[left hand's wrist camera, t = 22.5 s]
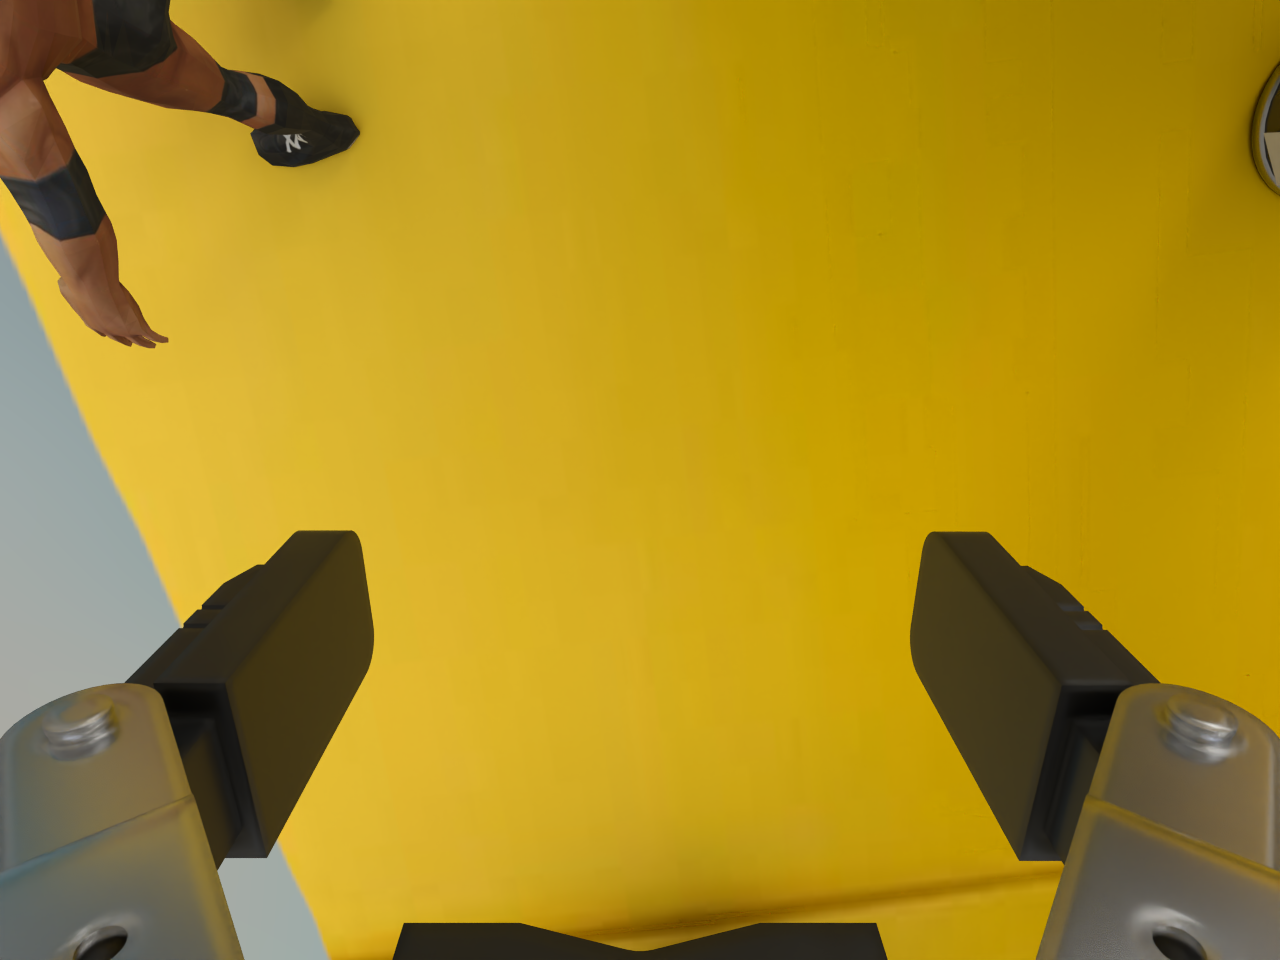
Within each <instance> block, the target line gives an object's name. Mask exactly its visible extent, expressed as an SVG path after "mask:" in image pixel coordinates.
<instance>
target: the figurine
mask: <svg viewBox="0 0 1280 960" xmlns="http://www.w3.org/2000/svg"><path fill="white" fill-rule="evenodd" d="M169 5H170V0H0V178H1V179H2V181H3V182H4V184H5V185H6V186H7V188H8V189H9V191H10V192H11V194H12V195H13V197H14V199H15V200H16V202H17V203H18V205H19V207H20V208H21V210H22V211H23V213H24V215H25V216H26V218H27V220H28V222H29V224H30V225H31V227H32V230H33V232H34V235H35V237H36V240H37V242H38V243H39V245H40V247H41V248H42V250H43V251H44V253H45V255H46V256H47V258H48V259H49V261H50V262H51V263H52V265H53V266H54V268H55V269H56V270H57V272H58V273H59V275H60V276H61V278H60V279H59V280H58V284H59V288H60V292H61V294H62V295H63V296H64V298H65V299H66V300H67V302H68V303H69V304H70V306H71V307H72V308H73V309H74V311H75V312H76V313H77V314H78V315H79V316H80V317H81V319H82V320H83V321H84V323H85V324H86V326H88V327H89V328H91V329H92V330H94V331H95V332H97V333H98V334H100V335H101V336H104V337H105V336H106V335H107V336H108V337H109V338H111V339H113V340H115V341H118V342H120V343H122V344H124V345H127V346H130V347H131V345H132V343H135V344H137V345H139V346H143V347H147V348H155V346H156V344H155V343H153V342H151V341H150V340H152V341H155V342H160V343H166V342H168V338H167V337H164V336H161V335H159V334H157V333H156V332H154V331H152V330H151V329H150V327H149V326H148V324H147V322H146V321H145V319H144V317H143V315H142V313H141V310H140V308H139V306H138V304H137V303H136V301H135V300H134V298H133V297H132V295H131V294H130V293H129V291H128V290H127V289H126V288H125V287H124V286H123V285H122V284H121V283H120V282H119V271H118V251H117V240H116V236H115V233H114V230H113V227H112V223H111V221H110V219H109V218H108V216H107V214H106V212H105V210H104V208H103V206H102V205H101V203H100V201H99V199H98V197H97V195H96V192H95V190H94V187H93V184H92V182H91V179H90V176H89V174H88V171H87V169H86V167H85V165H84V164H83V162H82V160H81V158H80V156H79V155H78V153H77V151H76V149H75V147H74V145H73V143H72V140H71V138H70V136H69V134H68V131H67V129H66V127H65V125H64V123H63V121H62V119H61V117H60V115H59V113H58V111H57V109H56V107H55V105H54V103H53V101H52V99H51V97H50V95H49V93H48V91H47V89H46V86H45V84H44V82H43V80H45V79H47V78H48V77H49V76H50V74H51V73H52V72H53V71H54V70H55V68H57V69H59V70H61V71H63V72H65V73H66V74H68V75H70V76H71V77H73V78H75V79H77V80H79V81H81V82H83V83H86V84H89V85H92V86H94V87H97V88H100V89H103V90H106V91H109V92H112V93H115V94H119V95H123V96H126V97H130V98H133V99H137V100H140V101H144V102H147V103H151V104H154V105H158V106H161V107H165V108H171V109H182V110H193V111H200V112H207V113H213V114H217V115H221V116H226V117H229V118H232V119H234V120H236V121H238V122H241V123H243V124H245V125H248V126H250V127H252V128H254V130H253V132H252V133H250V134H251V137H252V139H253V142H254V144H255V147H256V149H257V152H258V154H259V155H260V156H261V157H262V158H264V159H265V160H266V161H267V162H269V163H270V164H271V165H274V166H287V167H297V166H302V165H306V164H311V163H314V162H317V161H319V160H322V159H324V158H327V157H329V156H332V155H334V154H337V153H339V152H342V151H345V150H347V149H349V148H350V147H351V145H352V144H353V143H354V141H355V140H356V139H357V137H358V136H359V135H360V131H359V130H358V129H357V127H356V126H355V125H354V123H353V121H352V119H351V118H350V117H349V116H347V115H342V114H337V113H332V112H327V111H319V110H316V109H313V108H311V107H309V106H307V105H306V103H305V102H304V101H303V100H302V99H301V98H300V96H299V95H298V94H297V93H295V92H294V91H292V90H291V89H290V88H288V87H287V86H285V85H284V84H282V83H281V82H279V81H277V80H275V79H272V78H269V77H267V76H264V75H261V74H257V73H250V72H243V71H235V70H227V69H225V68H223V67H221V66H220V65H219V64H218V63H217V62H216V61H215V60H214V59H213V58H212V57H211V56H210V55H209V54H208V53H207V52H206V51H205V50H204V49H203V48H202V47H201V46H200V45H199V44H198V43H197V42H196V41H195V40H194V39H193V38H192V37H191V36H190V35H188V34H187V33H186V32H184V31H183V30H182V29H180V28H179V27H178V26H177V25H175V24H174V23H173V22H172V21H171V20H170V17H169ZM143 336H144V337H146V338H147V339H145V338H144V337H143ZM148 339H149V340H148Z"/></svg>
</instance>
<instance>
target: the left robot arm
mask: <svg viewBox="0 0 1280 960" xmlns="http://www.w3.org/2000/svg"><path fill="white" fill-rule="evenodd" d="M1251 141H1252V152H1253V157H1254V161H1255V165H1256V167H1257V169H1258V172H1259V174H1260V175H1261V177H1262V179H1263V180H1264V181H1265V183H1266V184H1267V185H1268V186H1269V187H1270V188H1271V189H1272V190H1273V191H1274V192H1276V193H1277V194H1278V195H1280V64H1279V66H1278V67H1277V68H1276V70H1275V71H1274V73H1273V74H1272V76H1271V77H1270V79H1269V81H1268V82H1267V84H1266V86H1265V88H1264V90H1263V92H1262V94H1261V97H1260V99H1259V102H1258V105H1257V108H1256V111H1255V115H1254V120H1253V126H1252V138H1251ZM373 645H374V628H373V620H372V613H371V607H370V600H369V593H368V587H367V580H366V573H365V566H364V560H363V553H362V547H361V543H360V540H359V538H358V536H357V534H356V533H355V532H354V531H297V532H295V533H294V534H293V535H292V536H291V537H290V538H289V539H288V540H287V541H286V542H285V543H284V544H283V546H282V547H281V548H280V549H279V550H278V551H277V552H276V553H275V554H274V555H273V556H272V557H271V558H270V559H269V560H268V561H267V562H266V564H265V565H256V566H254V567H252V568H250V569H249V570H247V571H245V572H243V573H241V574H240V575H238V576H236V577H234V578H232V579H231V580H229V581H227V582H225V583H224V584H223V585H222V586H221V587H220V588H219V589H218V590H217V591H216V592H215V593H214V594H213V595H212V596H211V597H210V598H209V599H208V600H207V601H206V602H205V603H204V604H203V605H202V609H201V610H197V611H196V612H195V613H194V614H193V615H192V616H191V617H190V618H189V619H188V620H187V621H186V622H185V623H184V627H183V628H179V629H178V630H177V631H176V632H175V633H174V634H173V635H172V636H171V637H170V638H169V639H168V640H167V641H166V642H165V643H164V644H163V645H162V646H161V647H160V648H159V649H158V650H157V651H156V652H155V653H154V654H153V655H152V656H151V657H150V658H149V659H148V660H147V661H146V662H145V663H144V664H143V665H142V666H141V667H140V668H139V669H138V670H137V671H136V672H135V673H134V674H133V675H132V676H131V677H130V678H129V679H128V680H127V681H126V682H125V683H117V684H108V685H102V686H97V687H92V688H88V689H84V690H81V691H77V692H75V693H71V694H69V695H66V696H63V697H61V698H58V699H56V700H54V701H51V702H49V703H47V704H45V705H44V706H42V707H40V708H38V709H36V710H34V711H33V712H31V713H29V714H28V715H26V716H25V717H23V718H22V719H21V720H19V721H18V722H17V723H15V724H14V725H13V726H12V727H11V728H10V729H9V730H8V731H7V732H6V733H5V734H4V735H3V736H2V738H1V739H0V960H244V957H243V954H242V950H241V947H240V944H239V941H238V937H237V934H236V931H235V928H234V924H233V921H232V918H231V915H230V911H229V908H228V905H227V901H226V898H225V895H224V892H223V888H222V885H221V882H220V879H219V875H218V872H217V870H218V869H219V867H220V865H221V864H222V862H223V860H224V859H225V858H267V857H268V855H269V853H270V851H271V849H272V848H273V846H274V844H275V842H276V840H277V838H278V836H279V835H280V833H281V831H282V829H283V827H284V825H285V823H286V822H287V820H288V818H289V816H290V814H291V812H292V810H293V809H294V807H295V805H296V803H297V801H298V799H299V797H300V796H301V794H302V792H303V790H304V788H305V786H306V784H307V783H308V781H309V779H310V777H311V775H312V773H313V771H314V770H315V768H316V766H317V764H318V762H319V760H320V759H321V757H322V755H323V753H324V751H325V749H326V747H327V746H328V744H329V742H330V740H331V738H332V736H333V734H334V733H335V731H336V729H337V727H338V725H339V723H340V721H341V720H342V718H343V716H344V714H345V712H346V710H347V708H348V707H349V705H350V703H351V701H352V699H353V697H354V695H355V694H356V692H357V690H358V688H359V686H360V684H361V683H362V681H363V679H364V677H365V675H366V673H367V671H368V669H369V666H370V663H371V659H372V654H373ZM910 646H911V655H912V660H913V664H914V667H915V670H916V672H917V674H918V676H919V678H920V680H921V682H922V684H923V685H924V687H925V689H926V691H927V693H928V695H929V696H930V698H931V700H932V702H933V704H934V706H935V707H936V709H937V711H938V713H939V715H940V717H941V718H942V720H943V722H944V724H945V726H946V728H947V729H948V731H949V733H950V735H951V737H952V739H953V740H954V742H955V744H956V746H957V748H958V749H959V751H960V753H961V755H962V757H963V759H964V760H965V762H966V764H967V766H968V768H969V770H970V771H971V773H972V775H973V777H974V779H975V781H976V782H977V784H978V786H979V788H980V790H981V792H982V793H983V795H984V797H985V799H986V801H987V803H988V804H989V806H990V808H991V810H992V812H993V814H994V815H995V817H996V819H997V821H998V823H999V825H1000V826H1001V828H1002V830H1003V832H1004V834H1005V836H1006V837H1007V839H1008V841H1009V843H1010V845H1011V847H1012V848H1013V850H1014V852H1015V854H1016V856H1017V858H1018V859H1019V861H1062V862H1063V864H1064V865H1065V866H1064V869H1063V872H1062V875H1061V879H1060V882H1059V885H1058V888H1057V892H1056V895H1055V898H1054V901H1053V905H1052V908H1051V911H1050V915H1049V918H1048V921H1047V924H1046V928H1045V931H1044V934H1043V937H1042V941H1041V944H1040V947H1039V950H1038V954H1037V957H1036V960H1280V739H1279V738H1278V736H1277V735H1276V734H1275V733H1274V732H1273V731H1272V730H1271V729H1270V728H1269V727H1268V726H1267V725H1266V724H1265V723H1263V722H1262V721H1261V720H1259V719H1258V718H1257V717H1255V716H1254V715H1252V714H1251V713H1249V712H1247V711H1246V710H1244V709H1242V708H1240V707H1238V706H1237V705H1235V704H1233V703H1231V702H1229V701H1226V700H1224V699H1222V698H1219V697H1217V696H1214V695H1211V694H1209V693H1206V692H1203V691H1199V690H1196V689H1192V688H1188V687H1183V686H1178V685H1172V684H1163V683H1160V682H1159V681H1158V680H1157V679H1156V678H1155V677H1154V676H1153V675H1152V674H1151V673H1150V672H1149V671H1148V670H1147V669H1146V668H1145V667H1144V666H1143V665H1142V664H1141V663H1140V662H1139V661H1138V660H1137V659H1136V658H1135V657H1134V656H1133V655H1132V654H1131V653H1130V652H1129V651H1128V650H1127V649H1126V648H1125V647H1124V646H1123V645H1122V644H1121V643H1120V642H1119V641H1118V640H1117V639H1116V638H1115V637H1114V636H1113V635H1112V634H1111V633H1110V632H1109V631H1108V630H1103V629H1102V624H1101V623H1100V622H1099V621H1098V620H1096V619H1095V618H1094V617H1093V616H1092V615H1091V614H1090V613H1089V612H1088V611H1084V607H1083V606H1082V605H1081V604H1080V603H1079V602H1078V601H1077V600H1076V599H1075V598H1074V597H1073V596H1072V595H1071V594H1070V593H1069V592H1068V591H1067V590H1066V589H1065V588H1064V587H1063V586H1062V585H1061V584H1059V583H1057V582H1056V581H1054V580H1052V579H1050V578H1048V577H1047V576H1045V575H1043V574H1041V573H1039V572H1038V571H1036V570H1034V569H1032V568H1030V567H1028V566H1020V565H1019V564H1018V563H1017V562H1016V560H1015V559H1014V558H1013V557H1012V556H1011V555H1010V554H1009V553H1008V552H1007V551H1006V550H1005V549H1004V548H1003V547H1002V546H1001V545H1000V544H999V543H998V542H997V541H996V539H995V538H994V537H993V536H992V535H991V534H989V533H988V532H931V533H930V534H929V535H928V536H927V537H926V540H925V542H924V545H923V550H922V556H921V562H920V569H919V576H918V582H917V589H916V596H915V602H914V609H913V615H912V622H911V630H910ZM393 960H887V956H886V953H885V950H884V947H883V943H882V940H881V937H880V934H879V931H878V927H877V924H876V923H758V924H754V925H750V926H746V927H742V928H738V929H734V930H730V931H726V932H722V933H718V934H714V935H710V936H706V937H702V938H698V939H694V940H690V941H686V942H682V943H678V944H674V945H670V946H666V947H662V948H658V949H655V950H649V951H631V950H625V949H622V948H618V947H614V946H610V945H606V944H602V943H598V942H594V941H590V940H586V939H582V938H578V937H574V936H570V935H566V934H562V933H558V932H554V931H550V930H546V929H542V928H538V927H534V926H530V925H526V924H522V923H404V924H403V927H402V931H401V934H400V937H399V940H398V943H397V947H396V950H395V953H394V956H393Z"/></svg>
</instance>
